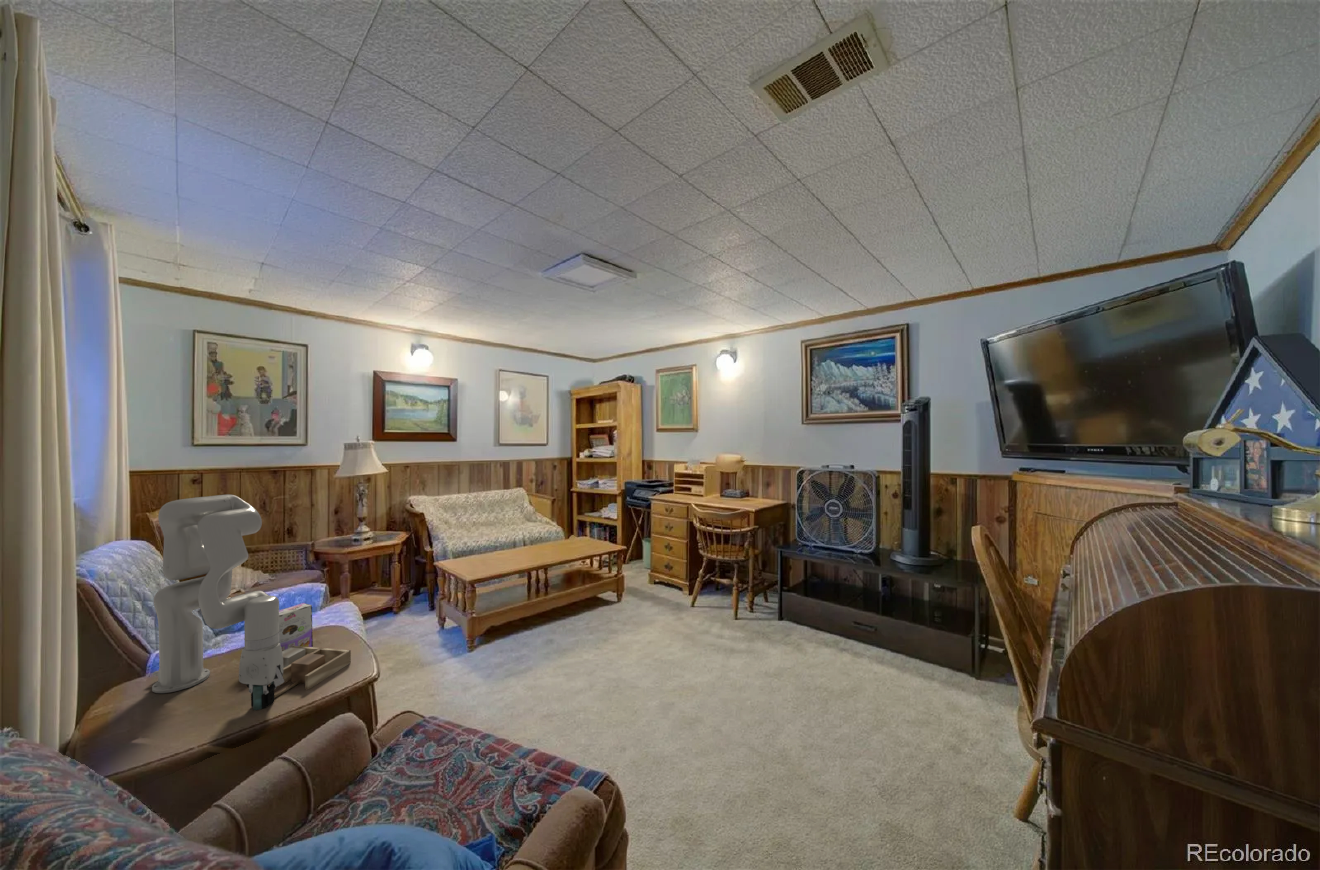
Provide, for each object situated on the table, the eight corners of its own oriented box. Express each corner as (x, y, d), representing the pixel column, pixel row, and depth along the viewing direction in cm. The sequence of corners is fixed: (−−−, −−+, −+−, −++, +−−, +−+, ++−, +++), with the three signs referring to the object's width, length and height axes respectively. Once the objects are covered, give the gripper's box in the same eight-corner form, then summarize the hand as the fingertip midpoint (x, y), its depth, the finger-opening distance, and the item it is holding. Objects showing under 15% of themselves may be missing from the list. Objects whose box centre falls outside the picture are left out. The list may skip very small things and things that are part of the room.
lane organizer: (245, 686, 141) (245, 670, 141) (293, 660, 157) (293, 645, 157) (308, 692, 138) (307, 675, 138) (350, 665, 154) (350, 650, 154)
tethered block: (245, 711, 128) (245, 686, 128) (308, 673, 148) (308, 652, 148) (264, 713, 128) (263, 688, 127) (325, 675, 147) (324, 653, 147)
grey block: (272, 674, 147) (272, 656, 147) (289, 665, 153) (289, 647, 153) (288, 676, 146) (288, 657, 146) (305, 666, 152) (305, 648, 152)
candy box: (304, 646, 167) (304, 601, 167) (313, 649, 165) (313, 604, 164) (258, 663, 155) (257, 615, 154) (267, 667, 152) (266, 618, 152)
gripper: (223, 645, 127) (224, 710, 128) (274, 649, 125) (275, 715, 125) (250, 633, 135) (251, 694, 135) (299, 637, 133) (299, 699, 133)
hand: (262, 704), depth 130 cm, fingers closed on tethered block, 2 cm apart
